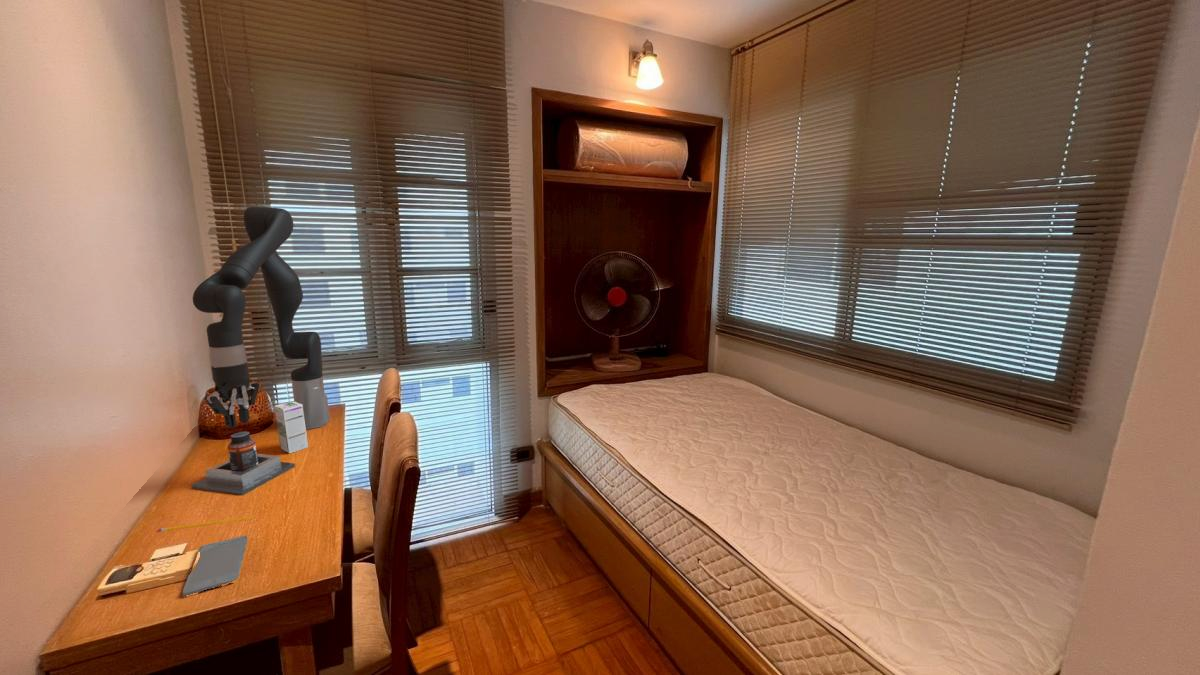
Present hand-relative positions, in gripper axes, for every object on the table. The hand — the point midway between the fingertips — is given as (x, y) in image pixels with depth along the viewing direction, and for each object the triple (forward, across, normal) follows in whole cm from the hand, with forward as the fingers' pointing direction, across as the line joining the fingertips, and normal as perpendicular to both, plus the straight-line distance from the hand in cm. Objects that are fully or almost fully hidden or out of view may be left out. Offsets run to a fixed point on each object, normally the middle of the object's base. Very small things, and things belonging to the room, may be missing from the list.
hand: (238, 424), depth 125 cm
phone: (+16, +31, +28) cm, 44 cm away
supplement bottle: (+14, 0, 0) cm, 14 cm away
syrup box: (+15, -18, -2) cm, 24 cm away
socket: (+15, 0, 0) cm, 15 cm away
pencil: (+16, +20, +12) cm, 28 cm away
